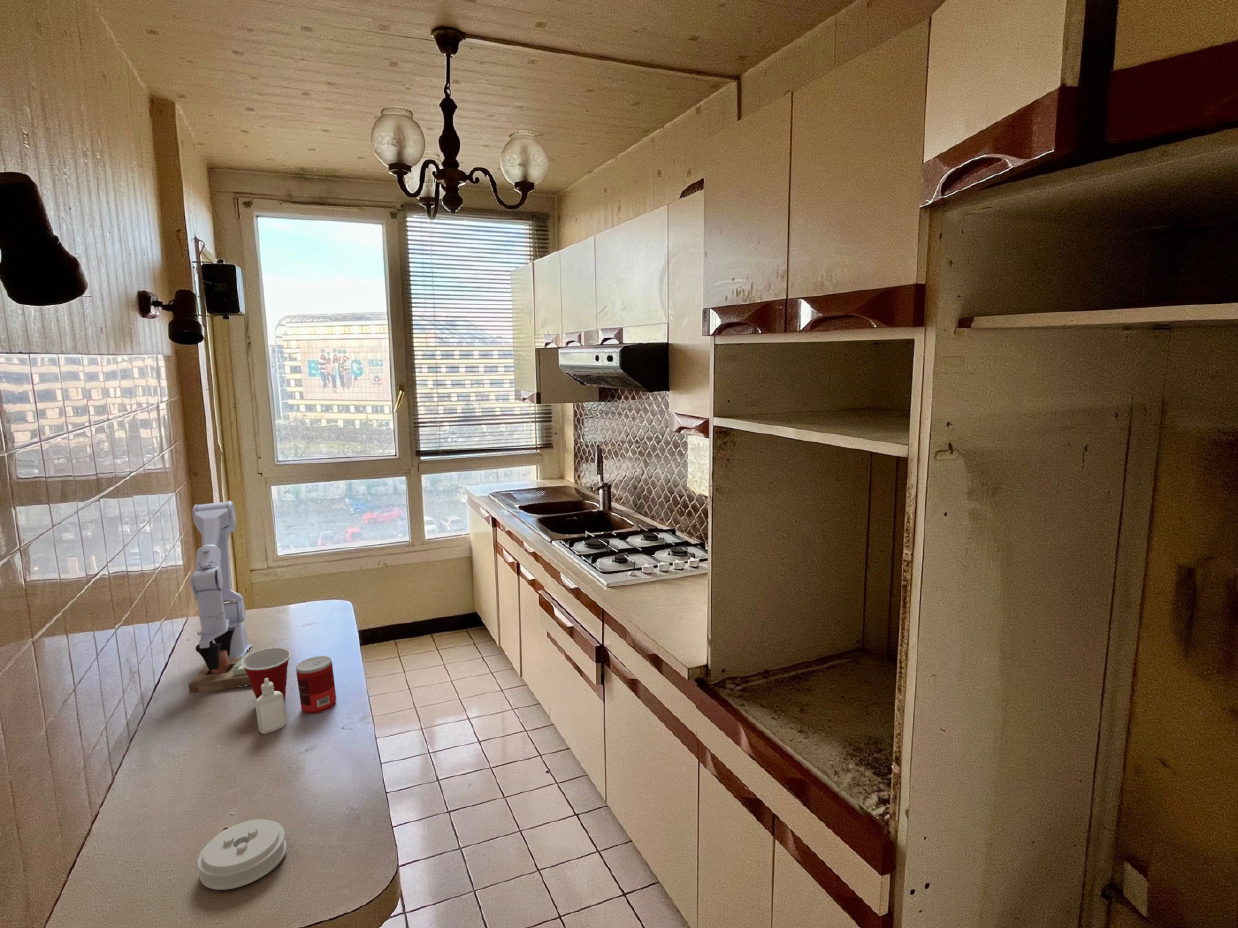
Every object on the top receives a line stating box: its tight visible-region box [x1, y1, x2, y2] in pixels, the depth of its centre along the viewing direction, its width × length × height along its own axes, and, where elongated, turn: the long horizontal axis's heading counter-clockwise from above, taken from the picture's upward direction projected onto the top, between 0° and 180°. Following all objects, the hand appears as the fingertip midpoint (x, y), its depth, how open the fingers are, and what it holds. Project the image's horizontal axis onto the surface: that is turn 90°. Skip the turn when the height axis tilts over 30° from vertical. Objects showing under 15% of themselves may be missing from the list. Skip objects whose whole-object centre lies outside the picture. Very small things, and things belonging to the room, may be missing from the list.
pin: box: [212, 650, 230, 674], centre depth 182 cm, size 4×4×7 cm
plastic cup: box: [241, 646, 292, 700], centre depth 167 cm, size 11×11×12 cm
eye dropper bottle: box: [254, 678, 288, 735], centre depth 155 cm, size 4×6×12 cm
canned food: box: [295, 655, 337, 715], centre depth 164 cm, size 8×8×11 cm
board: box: [188, 657, 251, 694], centre depth 183 cm, size 14×18×2 cm
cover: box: [233, 652, 251, 675], centre depth 184 cm, size 10×9×2 cm
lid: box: [197, 819, 288, 891], centre depth 113 cm, size 13×13×5 cm
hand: (219, 662), depth 182 cm, fingers open, 7 cm apart
